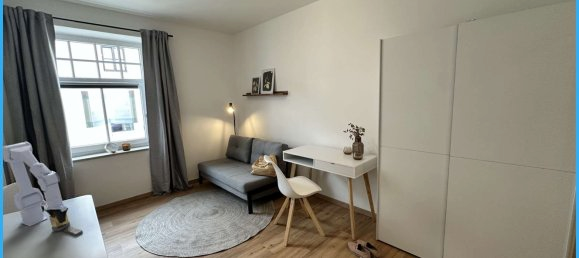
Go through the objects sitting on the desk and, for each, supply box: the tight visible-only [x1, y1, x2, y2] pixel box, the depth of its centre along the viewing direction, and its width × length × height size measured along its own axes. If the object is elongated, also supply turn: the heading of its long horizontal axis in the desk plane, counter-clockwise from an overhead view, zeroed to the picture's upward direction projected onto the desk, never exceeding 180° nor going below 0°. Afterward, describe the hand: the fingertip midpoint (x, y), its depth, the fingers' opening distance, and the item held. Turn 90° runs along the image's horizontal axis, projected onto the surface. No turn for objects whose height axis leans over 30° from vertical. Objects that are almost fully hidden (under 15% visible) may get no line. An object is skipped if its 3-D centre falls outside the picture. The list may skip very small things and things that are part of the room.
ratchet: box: [51, 221, 84, 237], centre depth 130 cm, size 19×7×4 cm, turn 67°
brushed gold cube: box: [48, 212, 70, 227], centre depth 131 cm, size 5×5×5 cm
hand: (59, 221), depth 132 cm, fingers closed on brushed gold cube, 5 cm apart
